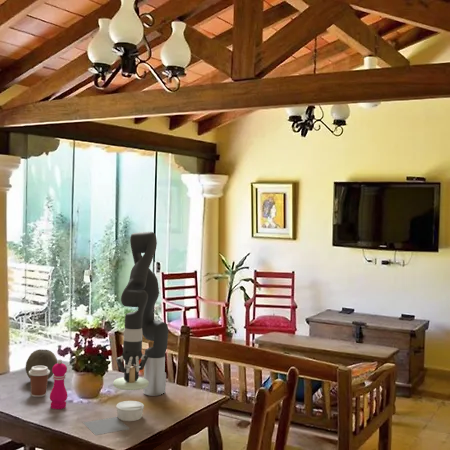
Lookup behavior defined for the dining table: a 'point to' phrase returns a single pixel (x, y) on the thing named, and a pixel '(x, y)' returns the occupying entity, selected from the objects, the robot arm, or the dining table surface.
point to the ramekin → (129, 410)
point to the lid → (131, 382)
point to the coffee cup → (39, 380)
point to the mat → (106, 426)
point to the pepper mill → (58, 386)
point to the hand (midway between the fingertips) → (131, 380)
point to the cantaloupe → (41, 360)
